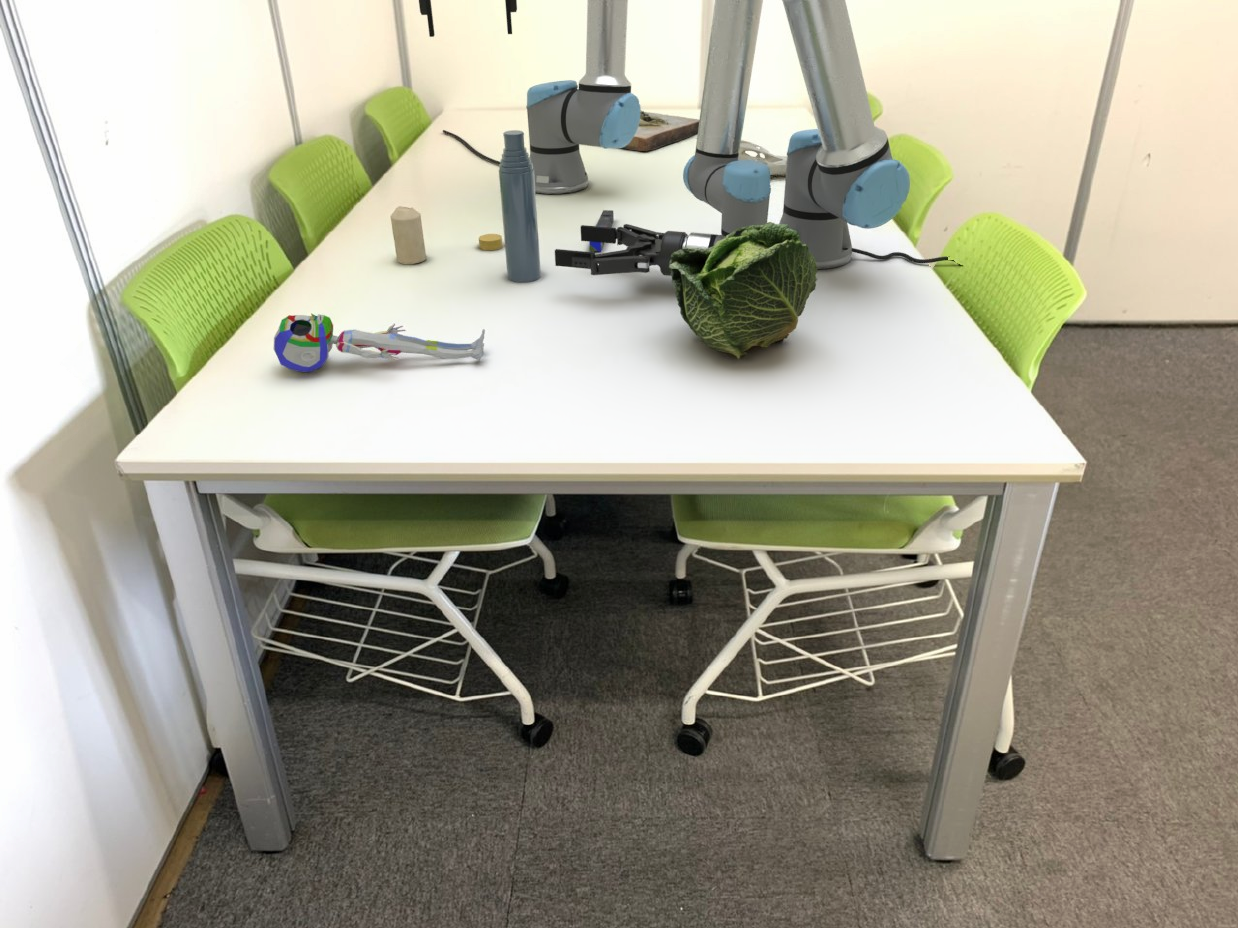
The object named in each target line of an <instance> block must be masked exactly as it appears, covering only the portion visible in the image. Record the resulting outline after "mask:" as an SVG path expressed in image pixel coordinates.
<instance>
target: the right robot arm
mask: <svg viewBox="0 0 1238 928" xmlns="http://www.w3.org/2000/svg"><path fill="white" fill-rule="evenodd" d="M781 1H782V4H783V9H784V12H785V16H786V19H787V22H788V26H789V30H790V33H791V34H790V35H791V37H792V42H793V44H794V47H795V52H796V56H797V59H798V62H799V66H800V70H801V72H802V77H803V80H804V84H805V87H806V91H807V95H808V99H809V102H810V106H811V110H812V113H813V118H814V120H815V124H816V128H811V129H805V130H804V129H803V130H799V131H796V132H794V133H793V134H791V136H790V138H789V140H788V147H787V151H786V156H787V168H786V174H785V182H784V183H785V184H784V194H783V195H784V196H783V208H782V215H781V217H780V220H779V223H778V224H788V228H790V229H792V230H794V231H797V232H798V234H799V237H800V240H801V241H800V242H801V244H806V245H807V247H808V248H809V252H810V253H811V255H812V256H813V257H814V258H815V263H816V265H817V267H818V268H817V270H827V269H834V268H837V267H842V266H844V265H846V264H848V263H849V262H851V260H852V256H853V255H852V254H853V253H855V254H859V255H863V256H866V257H870V258H872V259H876V260H880V261H881V260H888V259H890V258H893V257H901V258H904V259H906V260H907V261H910V262H912V263H916V264H932V263H938V262H943V261H944V262H945V261H950V262H954V263H956V262H955V261H954V260H948V257H949V256H948V257H947V256H938V257H932V258H926V259H921V258H916V257H913V256H911V255H909V254H907V253H905V252H901V251H894V252H890V253H888V254H884V255H879V254H875V253H872V252H869V251H867V250H862V249H858V248H854V247H853V244H852V239H851V234H850V229H849V225H851V226H854V227H855V226H856V227H858V228H862V229H866V230H869V229H870V230H871V229H876V228H880V227H881V226H884V225H886V224H887V223H888V222H890V221H891V220H893V219H894V218H895V217H896V216H897V215H898V214H899V212H900V211H901V210H902V206H903V204H904V203H905V202H906V201H907V199H908V196H909V193H910V190H911V189H910V188H911V177H910V172H909V170H908V169H907V168H906V166H905V165H904V164H903V163H902V162H901V161H899V160H898V159H896V158H893V155H892V151H891V147H890V142H889V138H888V134H887V132H886V131H885V130H884V129H882V128H880V127H878V126H876V125H875V122H874V117H873V113H872V109H871V105H870V100H869V97H868V92H867V88H866V83H865V79H864V74H863V71H862V67H861V62H860V58H859V54H858V50H857V45H856V40H855V37H854V32H853V28H852V24H851V20H850V14H849V11H848V6H847V1H846V0H781ZM763 3H764V0H714V5H713V12H712V18H711V19H712V20H711V27H710V36H709V42H708V43H709V44H708V49H707V50H708V51H707V58H706V67H705V73H704V74H705V75H704V82H703V90H702V96H701V97H702V98H701V106H700V112H699V128H698V133H697V135H696V136H697V137H696V144H695V152H694V155H692V156H691V157H690V158H689V159H688V161H687V162H686V163H685V166H684V168H683V172H682V180H683V183H684V186H685V188H686V189H687V191H688V192H690V193H691V194H692V195H693V196H694V198H696V199H697V200H699V201H701V202H703V203H705V204H707V205H709V206H710V207H712V208H713V209H714V210H716V211H718V212H719V213H721V224H720V225H721V226H720V234H716V233H707V232H706V233H705V232H695V231H691V232H690V233H689V234H688V233H687V232H685V231H675V230H667V231H665V232H659V231H654V230H650V229H648V228H643V227H639V226H637V225H636V226H635V225H632V224H628V223H624V224H623V225H622V226H618V227H612V226H611V227H599V226H596V225H586V224H585V225H584V224H583V225H580V241H581V242H588V243H589V242H600V243H604V244H611V245H613V244H614V245H615V244H617V246H623V245H624V246H626V249H622V250H621V249H620V250H615V251H609V252H601V253H596V252H595V251H590V250H589V251H583V250H571V249H562V248H556V249H554V264H555V265H554V266H555V267H564V268H576V269H586V270H590V275H592V276H601V275H603V276H604V275H615V274H627V273H643V274H644V273H646V274H648V273H650V270H651V269H650V267H651V266H658V267H659V270H660V273H661V274H662V276H666V277H672V275H671V271H670V268H669V263H670V260H671V255H672V254H673V253H674V252H677V251H678V250H680V249H684V248H700V249H708V248H710V247H712V246H715V244H716V243H717V242H718V241H720V240H722V239H724V238H725V236H727V235H729V234H730V233H732V232H734V231H736V230H738V229H740V228H743V227H748V226H752V225H754V226H758V225H765V224H767V223H768V217H769V208H770V197H771V192H772V188H771V175H770V169H769V167H768V166H767V165H766V164H765V163H762V162H756V161H752V160H740V161H738V156H739V149H740V143H741V140H742V137H743V130H744V124H745V117H746V111H747V105H748V98H749V92H750V86H751V85H750V84H751V78H752V73H753V65H754V60H755V53H756V47H757V41H758V34H759V27H760V22H761V16H762V9H763ZM956 264H957V265H958V266H960V267H962V266H961V265H959V264H958V263H956Z"/></svg>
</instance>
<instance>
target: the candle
mask: <svg viewBox="0 0 1238 928" xmlns="http://www.w3.org/2000/svg"><path fill="white" fill-rule="evenodd" d="M390 222H391V230H392V235H393V242H394V249H395V255H396V256H395V257H396V260H397V262H398V263H399V264H405V265H413V264H419V263H422V262H424V261H426V259H427V253H426V244H425V239H424V231H423V222H422V215H421V213H420V211H417V210H416V209H415V208H414V207H407V206H402V205H399V206H397V207H395V209H394V211H393V212H392V213H391V215H390Z"/></svg>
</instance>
